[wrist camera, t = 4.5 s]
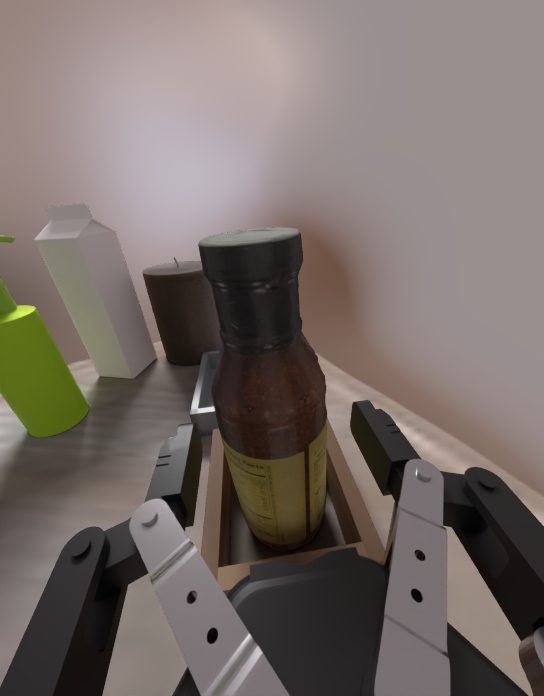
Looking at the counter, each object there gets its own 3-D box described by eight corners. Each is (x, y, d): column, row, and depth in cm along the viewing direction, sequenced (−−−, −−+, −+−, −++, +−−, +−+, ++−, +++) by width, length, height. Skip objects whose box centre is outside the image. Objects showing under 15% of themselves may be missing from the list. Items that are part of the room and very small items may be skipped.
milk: (133, 379, 37) (62, 203, 26) (98, 376, 38) (16, 207, 27) (158, 357, 42) (107, 202, 31) (126, 355, 44) (66, 205, 33)
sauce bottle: (294, 461, 24) (287, 221, 14) (342, 524, 19) (382, 225, 9) (228, 498, 21) (161, 235, 11) (263, 583, 16) (200, 251, 7)
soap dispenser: (105, 409, 32) (16, 231, 22) (36, 446, 27) (-115, 244, 17) (88, 391, 35) (4, 231, 25) (24, 422, 31) (-108, 241, 21)
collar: (211, 623, 15) (196, 595, 13) (220, 459, 24) (213, 429, 22) (378, 591, 16) (388, 559, 14) (324, 444, 25) (325, 413, 23)
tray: (196, 436, 27) (189, 414, 26) (207, 370, 38) (203, 352, 36) (303, 421, 28) (303, 399, 26) (284, 361, 39) (283, 343, 37)
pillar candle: (177, 373, 38) (149, 268, 30) (158, 348, 45) (131, 258, 37) (236, 351, 43) (223, 256, 35) (210, 332, 50) (195, 249, 42)
